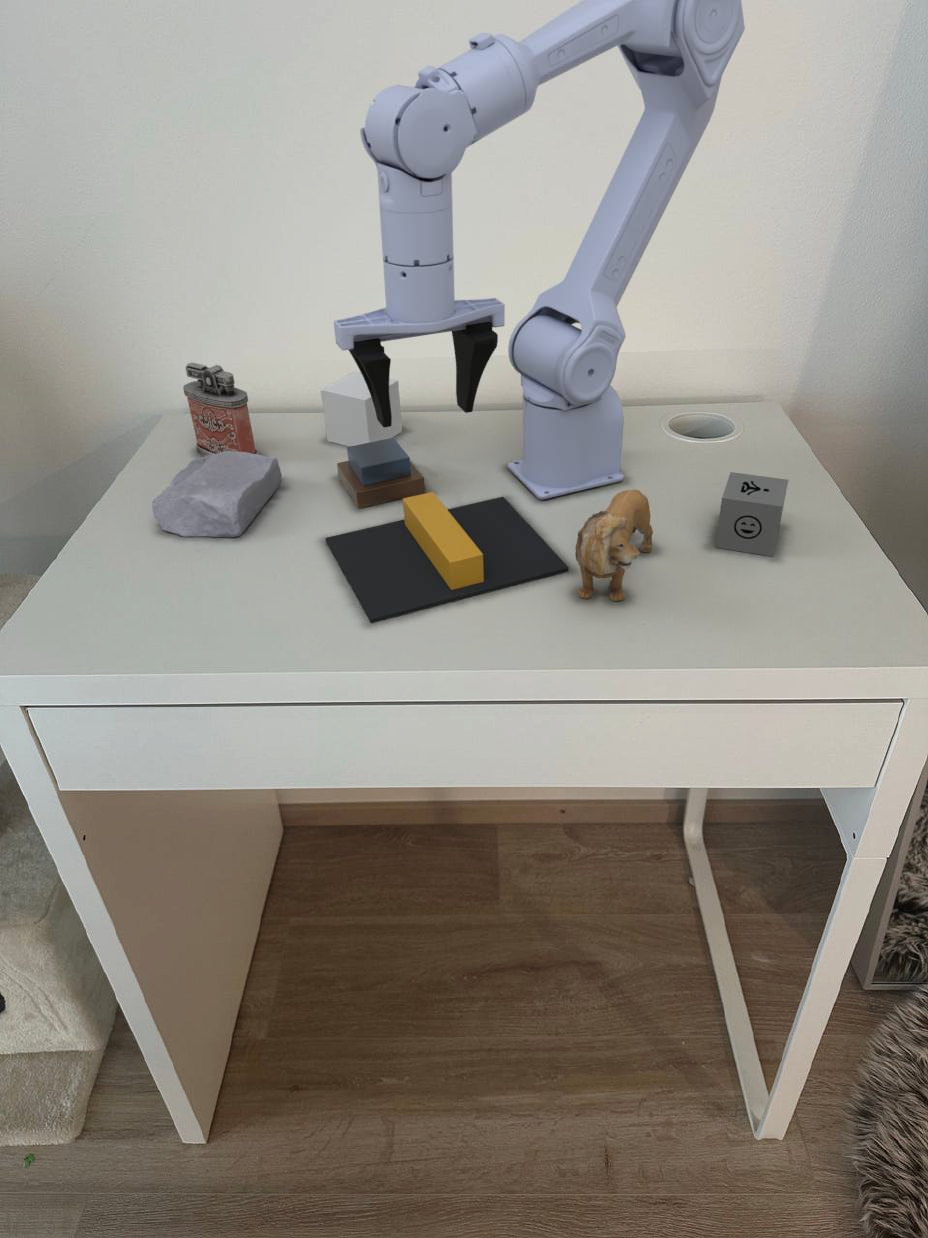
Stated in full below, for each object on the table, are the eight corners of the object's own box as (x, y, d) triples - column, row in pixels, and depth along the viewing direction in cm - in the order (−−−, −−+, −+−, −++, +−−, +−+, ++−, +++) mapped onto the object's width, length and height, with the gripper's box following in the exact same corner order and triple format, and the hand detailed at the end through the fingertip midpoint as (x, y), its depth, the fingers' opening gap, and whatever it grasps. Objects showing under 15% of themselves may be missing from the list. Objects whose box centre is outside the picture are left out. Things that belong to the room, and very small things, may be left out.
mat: (503, 499, 92) (503, 496, 91) (568, 571, 81) (569, 567, 81) (325, 541, 87) (325, 537, 86) (371, 623, 76) (370, 619, 76)
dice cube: (723, 520, 87) (730, 471, 84) (779, 528, 85) (788, 479, 83) (714, 547, 83) (721, 497, 80) (773, 556, 82) (782, 506, 79)
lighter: (266, 457, 101) (250, 368, 95) (244, 470, 99) (226, 379, 93) (212, 441, 105) (194, 354, 99) (190, 453, 102) (170, 365, 97)
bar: (484, 581, 80) (483, 554, 78) (451, 590, 79) (449, 562, 77) (434, 517, 89) (432, 491, 87) (404, 524, 88) (402, 498, 86)
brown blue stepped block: (402, 464, 99) (399, 431, 96) (425, 493, 93) (423, 459, 91) (338, 478, 97) (334, 444, 94) (358, 508, 91) (354, 474, 89)
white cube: (360, 420, 108) (354, 370, 104) (402, 431, 105) (398, 380, 102) (327, 440, 104) (320, 389, 100) (370, 452, 101) (364, 399, 98)
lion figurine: (630, 631, 74) (639, 533, 69) (564, 621, 75) (568, 524, 70) (657, 537, 85) (666, 446, 80) (599, 529, 86) (604, 440, 81)
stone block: (155, 549, 90) (246, 539, 87) (134, 504, 87) (228, 492, 84) (208, 494, 99) (292, 483, 96) (191, 452, 97) (277, 439, 94)
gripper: (481, 236, 81) (482, 386, 89) (318, 255, 76) (334, 412, 84) (515, 255, 75) (513, 414, 83) (342, 278, 71) (356, 443, 79)
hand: (425, 415), depth 83 cm, fingers open, 7 cm apart
